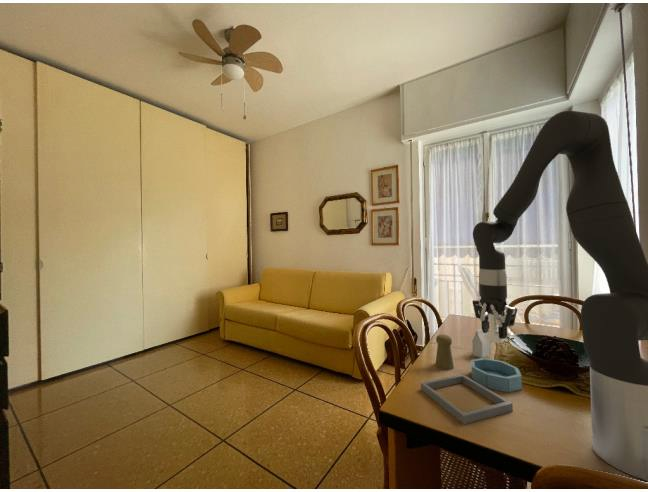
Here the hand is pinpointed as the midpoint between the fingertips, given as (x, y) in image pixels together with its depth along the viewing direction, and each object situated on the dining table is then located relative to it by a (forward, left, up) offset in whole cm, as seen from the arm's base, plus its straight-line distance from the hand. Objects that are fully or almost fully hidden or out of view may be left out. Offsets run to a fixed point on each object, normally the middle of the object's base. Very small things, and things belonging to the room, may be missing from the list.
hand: (493, 335), depth 80 cm
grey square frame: (-5, +18, -14) cm, 24 cm away
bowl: (0, 0, -14) cm, 14 cm away
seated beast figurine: (+30, -42, -15) cm, 54 cm away
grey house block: (+16, -13, -15) cm, 25 cm away
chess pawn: (0, 0, -2) cm, 2 cm away
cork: (+13, +8, -15) cm, 21 cm away
